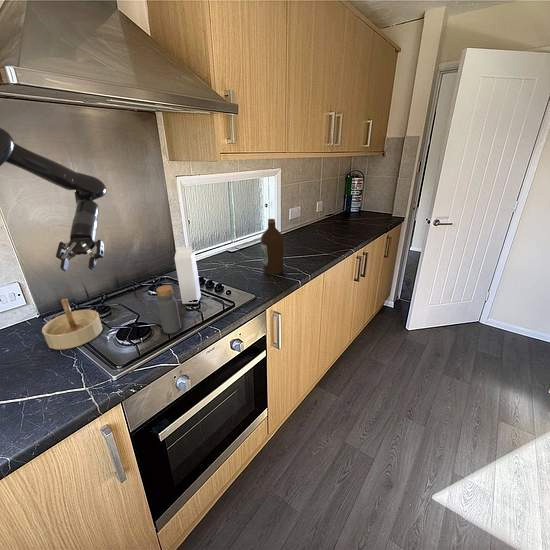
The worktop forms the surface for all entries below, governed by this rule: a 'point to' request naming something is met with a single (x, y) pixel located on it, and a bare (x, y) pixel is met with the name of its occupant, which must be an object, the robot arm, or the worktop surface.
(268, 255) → the olive oil
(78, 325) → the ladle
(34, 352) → the worktop surface
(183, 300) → the milk
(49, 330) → the bowl
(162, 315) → the bottle
